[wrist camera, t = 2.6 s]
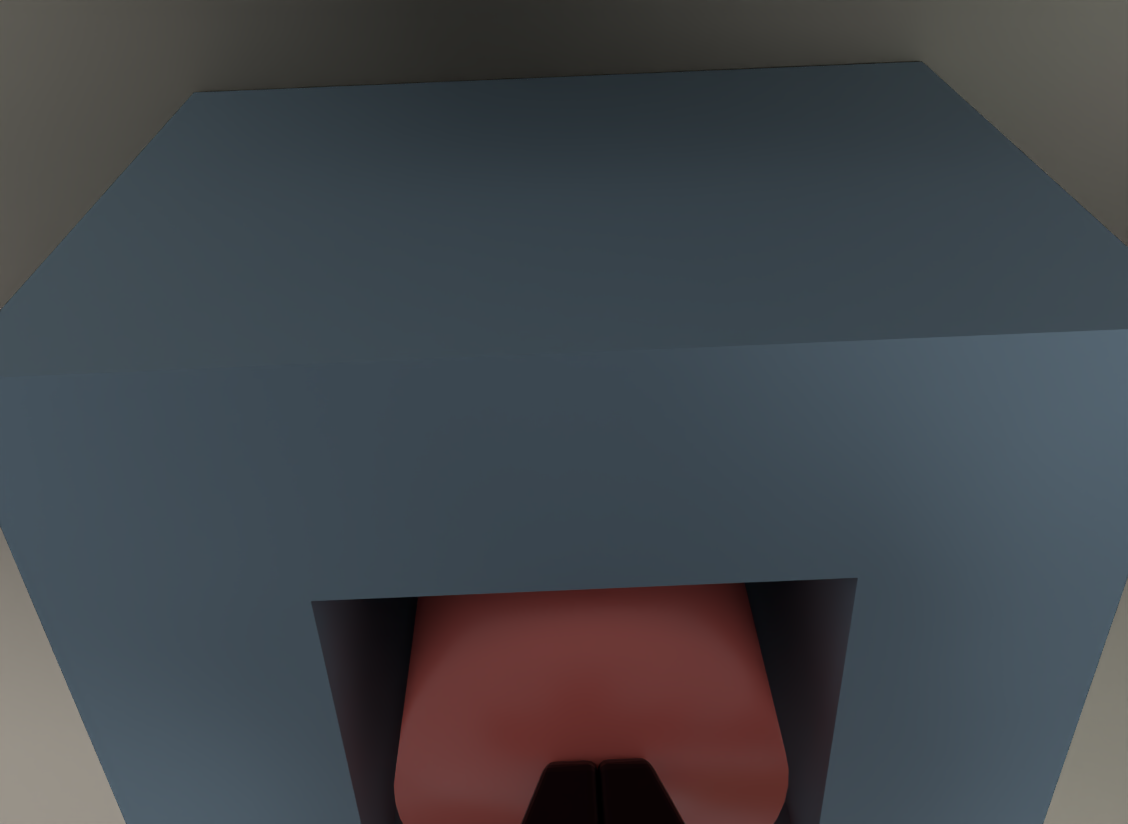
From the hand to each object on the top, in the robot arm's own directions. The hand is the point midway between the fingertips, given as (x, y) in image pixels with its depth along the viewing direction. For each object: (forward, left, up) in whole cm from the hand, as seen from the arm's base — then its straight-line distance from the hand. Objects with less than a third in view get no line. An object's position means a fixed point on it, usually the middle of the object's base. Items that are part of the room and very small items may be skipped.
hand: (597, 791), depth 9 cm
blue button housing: (0, 0, -6) cm, 6 cm away
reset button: (0, 0, -5) cm, 5 cm away
